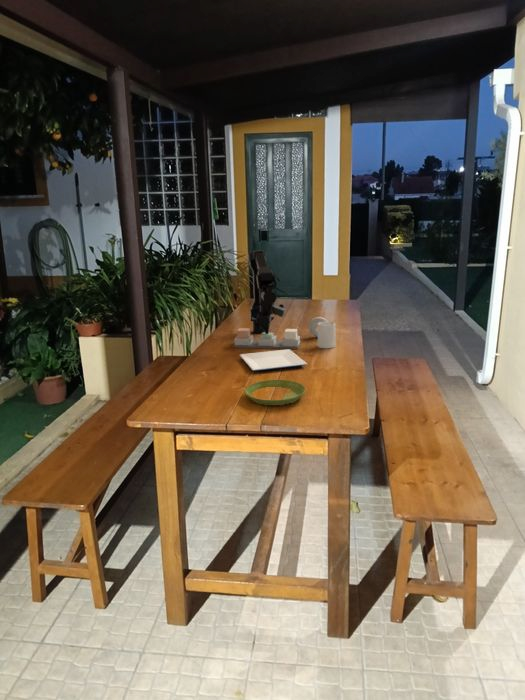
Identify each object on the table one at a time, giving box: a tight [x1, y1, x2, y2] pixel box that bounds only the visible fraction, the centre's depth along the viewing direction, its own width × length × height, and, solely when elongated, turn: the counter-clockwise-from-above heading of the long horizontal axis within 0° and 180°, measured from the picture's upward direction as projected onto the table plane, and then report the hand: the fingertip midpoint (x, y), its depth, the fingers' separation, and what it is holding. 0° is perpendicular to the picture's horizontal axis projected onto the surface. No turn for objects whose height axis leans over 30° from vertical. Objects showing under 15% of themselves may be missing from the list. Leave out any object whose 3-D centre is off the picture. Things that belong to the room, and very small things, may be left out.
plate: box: [239, 349, 308, 372], centre depth 225 cm, size 22×22×2 cm
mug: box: [317, 320, 336, 349], centre depth 247 cm, size 12×8×10 cm, turn 164°
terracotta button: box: [236, 327, 251, 339], centre depth 252 cm, size 5×5×4 cm
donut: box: [308, 316, 328, 338], centre depth 260 cm, size 10×4×10 cm, turn 83°
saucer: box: [244, 379, 306, 406], centre depth 188 cm, size 21×21×3 cm
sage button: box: [260, 331, 275, 339], centre depth 250 cm, size 5×5×4 cm
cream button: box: [284, 328, 298, 340], centre depth 247 cm, size 5×5×4 cm
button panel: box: [233, 334, 301, 350], centre depth 251 cm, size 10×29×4 cm, turn 79°
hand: (267, 333), depth 250 cm, fingers closed, pressing on sage button
